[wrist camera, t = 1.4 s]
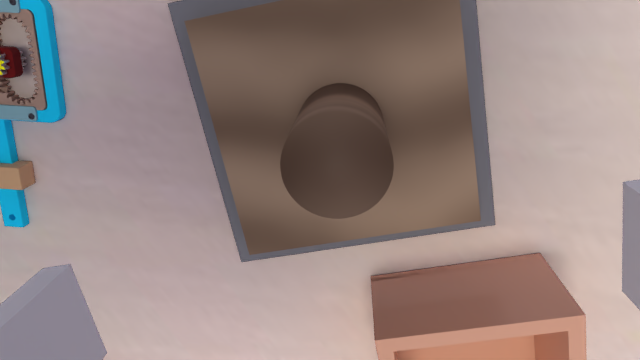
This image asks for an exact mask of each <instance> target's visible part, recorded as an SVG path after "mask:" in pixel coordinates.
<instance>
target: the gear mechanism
mask: <svg viewBox="0 0 640 360" xmlns="http://www.w3.org/2000/svg"><path fill="white" fill-rule="evenodd" d="M6 18H12V19H17V22H23V23H22V27H27V29H26V30H25V32H28V33H30V35H29V36H27V38H29V39H31V41H30V42H28V44H29V45H32V48H29V50H30V51H32V52H33V54H30V56H31V57H33V58H34V60H31V63H34V64H35V66H32V69H35V70H36V72H33V75H36V76H37V78H34V80H35V81H37V82H38V83H37V84H34V85H35V86H36V87H38V89H35V92H36V94H33V96H34V97H32V98H30V99H24V98H19V95H13V94H14V91H10V90H9V89H10V88H11V86H8V85H7V83H9V81H8V80H6V79H5V78H14V77H18V76H21V75H22V74H23V70H24V67H23V66H25V65H27V64H26V63H25V62H23V60H25V59H26V57H22V56H21V55H22V54H23V52H22V51H19V50H18V49H17V47H8V46H3V45H0V205H1V210H2V215H3V220H4V225H5V226H12V227H25V226H26V225H27V224H29V218H28V212H27V207H26V201H25V196H24V190H23V189H25V188H27V187H28V186H30V185H32V184H34V183H35V176H34V170H33V164H32V161H18V156H17V151H16V145H15V140H14V134H13V128H12V123H11V120H17V121H33V122H48V123H52V122H56V121H58V120H61V119H62V118H64V116H65V114H66V107H65V99H64V92H63V85H62V78H61V70H60V63H59V56H58V48H57V41H56V34H55V26H54V19H53V12H52V7H51V5H50V3H49V2H48V1H47V0H0V25H2V24H3V23H2V22H1V21H5V20H6ZM0 30H1V28H0ZM0 35H1V33H0ZM0 42H2V39H0Z"/></svg>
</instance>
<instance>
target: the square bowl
mask: <svg viewBox="0 0 640 360" xmlns="http://www.w3.org/2000/svg"><path fill="white" fill-rule="evenodd" d="M371 288H372V304H373V319H374V335H375V344H376V349H377V354H378V359H379V360H586V315H585V314H584V312H583V311H582V309H581V308H580V307H579V305H578V304H577V303H576V301H575V300H574V299H573V297H572V296H571V295H570V293H569V292H568V290H567V289H566V288H565V286H564V285H563V284H562V282H561V281H560V280H559V278H558V277H557V276H556V274H555V273H554V271H553V270H552V269H551V267H550V266H549V265H548V263H547V262H546V261H545V259H544V258H543V257H542V255H541V254H540V253H536V254H529V255H521V256H514V257H507V258H499V259H492V260H485V261H478V262H470V263H463V264H456V265H449V266H441V267H434V268H427V269H420V270H412V271H405V272H398V273H391V274H383V275H376V276H371Z"/></svg>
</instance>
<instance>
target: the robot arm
mask: <svg viewBox="0 0 640 360" xmlns="http://www.w3.org/2000/svg"><path fill="white" fill-rule="evenodd" d="M622 291H623V292H624V293H625V294H626V296H627V297H628V298H629V299H630V300H631V301H632V302H633V303H634V304H635V305H636V306H637V308H638V309H639V310H640V180H633V181H626V182H623V244H622ZM106 354H107V351H106V349H105V346H104V344H103V342H102V339H101V337H100V334H99V332H98V330H97V327H96V325H95V322H94V320H93V317H92V315H91V313H90V310H89V308H88V305H87V303H86V301H85V298H84V296H83V293H82V291H81V288H80V286H79V284H78V281H77V279H76V276H75V274H74V272H73V269H72V267H71V264H68V265H61V266H55V267H48V268H43V269H42V270H40V271H39V272H38V273H37V274H36V275H34V276H33V277H32V278H31V279H30V280H29V281H27V282H26V283H25V284H24V285H23V286H21V287H20V288H19V289H18V290H17V291H16V292H14V293H13V294H12V295H11V296H10V297H8V298H7V299H6V300H5V301H4V302H3V303H1V304H0V360H102V359H103V358H104V357H105V355H106Z"/></svg>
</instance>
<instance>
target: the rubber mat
mask: <svg viewBox="0 0 640 360" xmlns="http://www.w3.org/2000/svg"><path fill="white" fill-rule="evenodd" d="M276 1H280V0H182V1H177V2H173V3H168V7H169V10H170V14H171V17H172V21H173V24H174V28H175V31H176V35H177V38H178V42H179V45H180V49H181V52H182V56H183V59H184V63H185V66H186V70H187V73H188V77H189V80H190V84H191V87H192V91H193V94H194V98H195V101H196V105H197V108H198V112H199V115H200V119H201V122H202V126H203V129H204V133H205V136H206V140H207V143H208V147H209V150H210V154H211V157H212V161H213V164H214V168H215V171H216V175H217V178H218V182H219V185H220V189H221V192H222V196H223V199H224V203H225V206H226V210H227V213H228V217H229V220H230V224H231V227H232V231H233V234H234V238H235V241H236V245H237V248H238V252H239V255H240V259H241V262H246V261H253V260H259V259H266V258H273V257H280V256H287V255H294V254H300V253H307V252H314V251H321V250H328V249H335V248H341V247H348V246H355V245H362V244H369V243H375V242H382V241H389V240H396V239H403V238H410V237H416V236H423V235H430V234H437V233H444V232H451V231H457V230H464V229H471V228H478V227H485V226H492V225H495V216H494V204H493V193H492V181H491V169H490V158H489V146H488V134H487V123H486V111H485V99H484V88H483V76H482V64H481V53H480V41H479V29H478V17H477V6H476V0H460V8H461V19H462V29H463V39H464V50H465V60H466V71H467V81H468V91H469V102H470V112H471V123H472V133H473V143H474V154H475V164H476V175H477V185H478V195H479V206H480V216H481V221H476V222H470V223H463V224H456V225H449V226H443V227H436V228H429V229H422V230H415V231H409V232H402V233H395V234H388V235H382V236H375V237H368V238H361V239H355V240H348V241H341V242H334V243H328V244H321V245H314V246H307V247H301V248H294V249H287V250H280V251H274V252H267V253H260V254H253V255H249V252H248V248H247V245H246V241H245V237H244V234H243V230H242V227H241V223H240V219H239V216H238V212H237V209H236V205H235V201H234V198H233V194H232V191H231V187H230V183H229V180H228V176H227V173H226V169H225V165H224V162H223V158H222V155H221V151H220V147H219V144H218V140H217V137H216V133H215V130H214V126H213V122H212V119H211V115H210V112H209V108H208V104H207V101H206V97H205V94H204V90H203V86H202V83H201V79H200V76H199V72H198V68H197V65H196V61H195V58H194V54H193V50H192V47H191V43H190V40H189V36H188V32H187V29H186V25H185V22H184V21H187V20H192V19H196V18H201V17H206V16H210V15H215V14H220V13H224V12H229V11H234V10H238V9H243V8H248V7H252V6H257V5H262V4H266V3H271V2H276Z"/></svg>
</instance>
